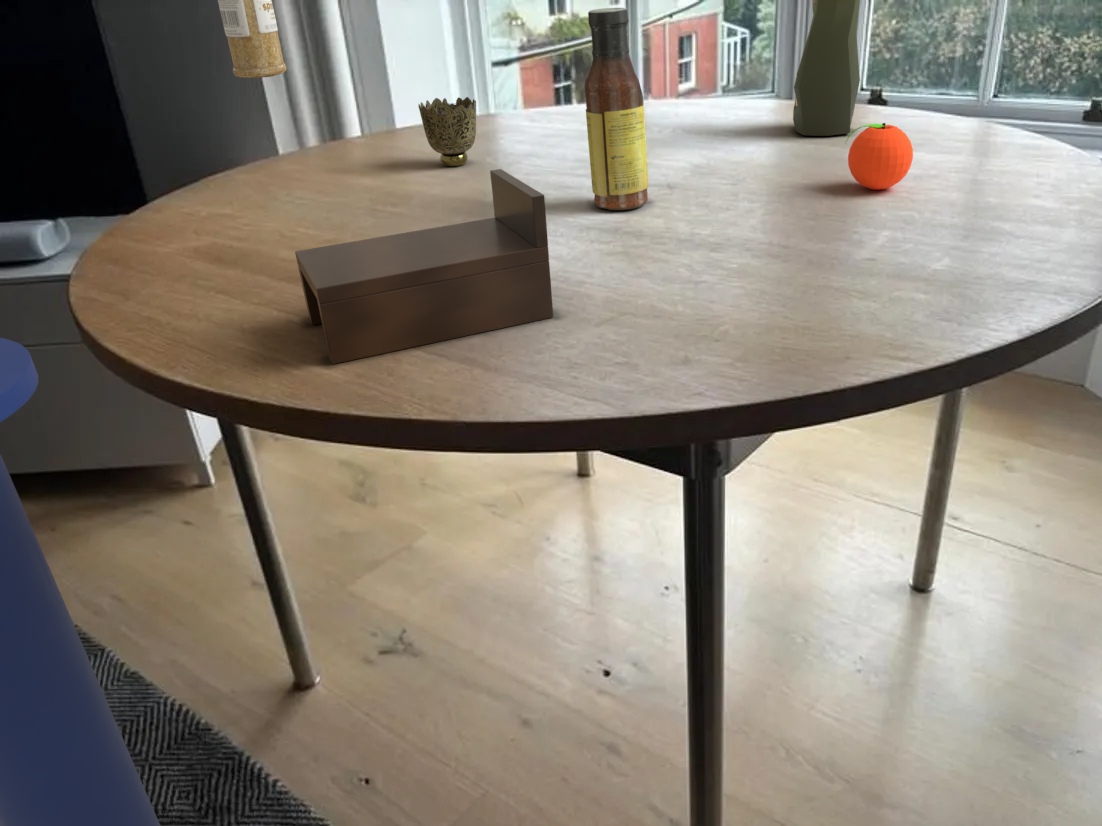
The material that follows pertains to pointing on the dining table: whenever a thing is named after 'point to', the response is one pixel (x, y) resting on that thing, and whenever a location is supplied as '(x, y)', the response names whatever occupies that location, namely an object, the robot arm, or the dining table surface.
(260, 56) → the sprinkles bottle
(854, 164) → the clementine
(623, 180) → the sauce bottle
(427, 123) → the cup
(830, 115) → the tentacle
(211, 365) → the dining table surface
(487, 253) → the shelf
